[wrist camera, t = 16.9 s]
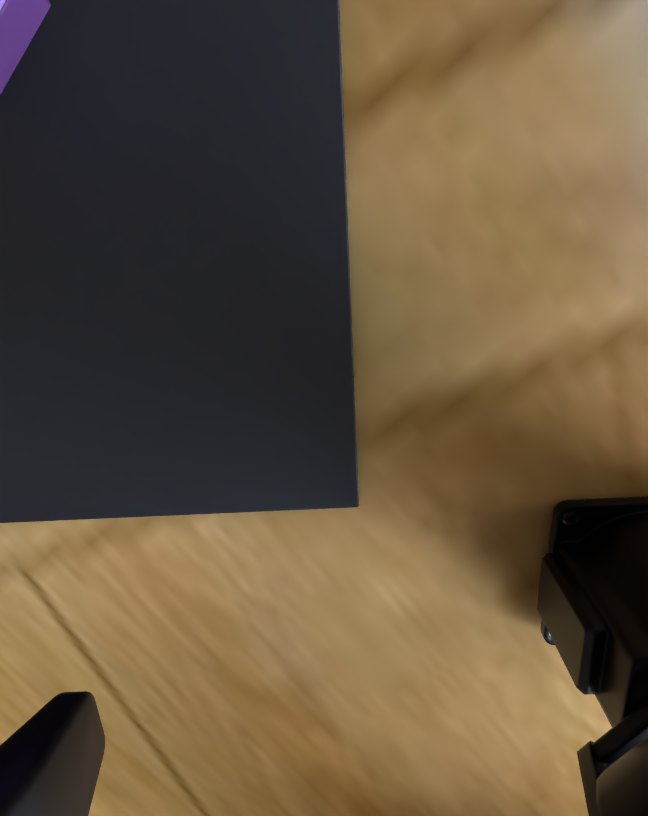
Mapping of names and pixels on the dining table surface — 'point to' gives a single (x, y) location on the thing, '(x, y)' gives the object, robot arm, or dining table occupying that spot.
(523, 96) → the dining table surface
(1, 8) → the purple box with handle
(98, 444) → the placemat
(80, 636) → the dining table surface
